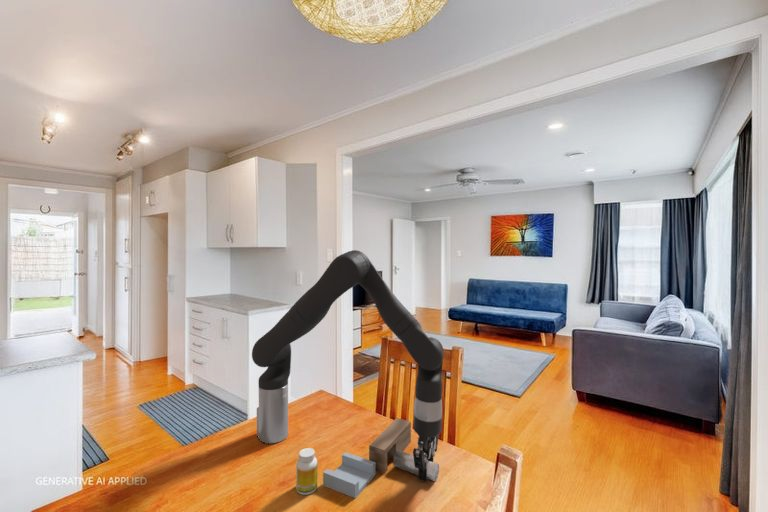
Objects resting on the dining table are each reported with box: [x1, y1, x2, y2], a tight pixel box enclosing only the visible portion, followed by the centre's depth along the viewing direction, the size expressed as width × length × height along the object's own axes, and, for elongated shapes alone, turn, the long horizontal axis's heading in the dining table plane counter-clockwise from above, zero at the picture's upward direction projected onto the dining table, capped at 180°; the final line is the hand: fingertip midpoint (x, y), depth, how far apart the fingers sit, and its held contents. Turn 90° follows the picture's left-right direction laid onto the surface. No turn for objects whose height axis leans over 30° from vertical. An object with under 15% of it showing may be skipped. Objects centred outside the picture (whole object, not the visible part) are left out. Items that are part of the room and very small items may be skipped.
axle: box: [392, 450, 440, 482], centre depth 97 cm, size 12×4×4 cm, turn 62°
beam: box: [368, 417, 412, 474], centre depth 106 cm, size 5×18×7 cm, turn 152°
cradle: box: [322, 451, 377, 499], centre depth 94 cm, size 10×10×4 cm
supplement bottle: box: [295, 447, 318, 496], centre depth 91 cm, size 5×5×10 cm
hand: (425, 474), depth 96 cm, fingers closed on axle, 4 cm apart
